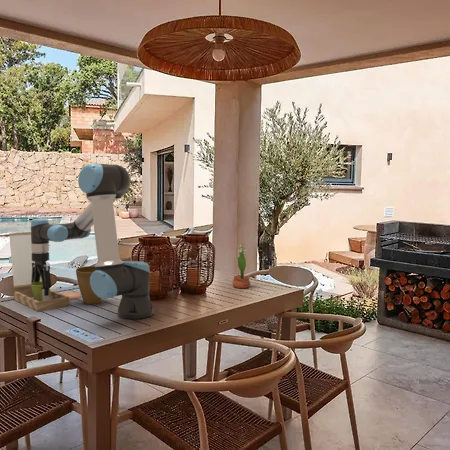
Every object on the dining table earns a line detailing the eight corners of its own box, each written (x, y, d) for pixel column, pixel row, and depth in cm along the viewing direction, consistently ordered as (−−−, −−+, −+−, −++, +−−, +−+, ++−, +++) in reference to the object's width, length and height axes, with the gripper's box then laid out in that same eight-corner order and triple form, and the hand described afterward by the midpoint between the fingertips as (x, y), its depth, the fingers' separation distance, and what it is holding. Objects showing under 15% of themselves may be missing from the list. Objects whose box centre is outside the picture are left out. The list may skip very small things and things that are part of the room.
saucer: (86, 297, 222) (86, 295, 222) (60, 301, 212) (60, 300, 212) (73, 292, 231) (73, 290, 231) (48, 296, 221) (48, 294, 221)
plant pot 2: (69, 303, 210) (68, 269, 208) (92, 296, 223) (92, 264, 221) (93, 308, 203) (92, 273, 201) (115, 301, 216) (115, 268, 214)
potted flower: (230, 284, 258) (231, 240, 255) (248, 284, 259) (249, 241, 256) (233, 289, 246) (234, 243, 243) (251, 289, 247) (252, 243, 244)
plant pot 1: (55, 299, 214) (55, 281, 213) (46, 304, 205) (45, 285, 204) (37, 298, 215) (36, 280, 214) (26, 303, 206) (25, 285, 205)
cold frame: (69, 305, 206) (69, 292, 206) (38, 311, 196) (37, 298, 195) (43, 294, 224) (43, 282, 224) (13, 299, 214) (13, 287, 214)
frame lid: (38, 231, 224) (37, 231, 225) (9, 233, 214) (8, 233, 215) (42, 282, 224) (41, 282, 224) (14, 286, 214) (13, 286, 214)
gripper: (58, 254, 203) (59, 303, 205) (38, 248, 218) (39, 295, 220) (42, 255, 198) (43, 306, 200) (22, 250, 213) (23, 297, 215)
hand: (41, 300), depth 210 cm, fingers closed on plant pot 1, 8 cm apart
